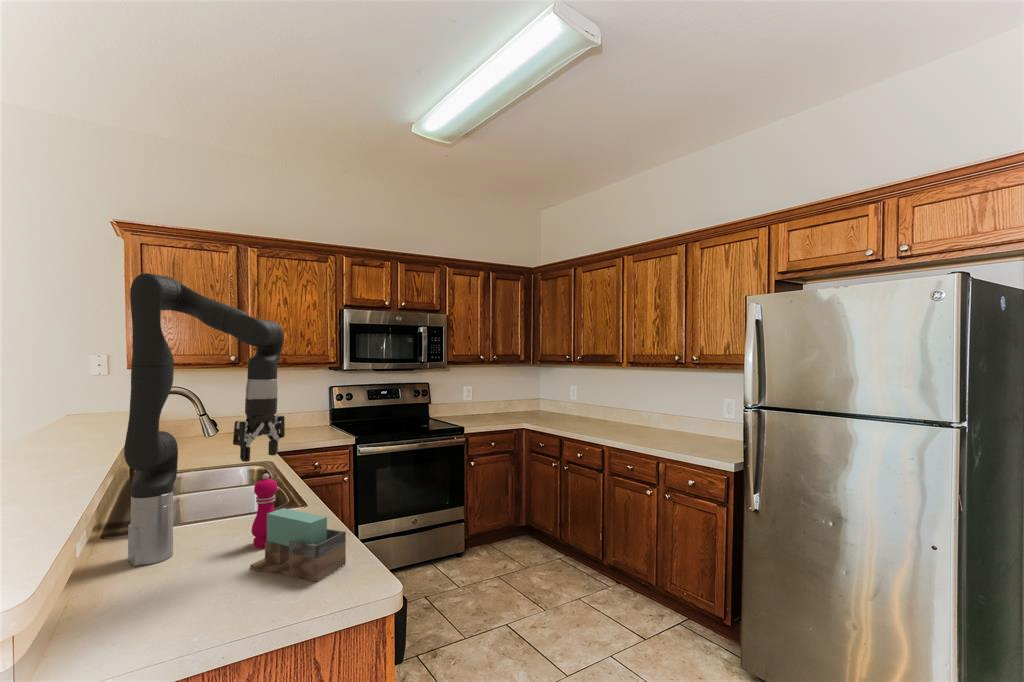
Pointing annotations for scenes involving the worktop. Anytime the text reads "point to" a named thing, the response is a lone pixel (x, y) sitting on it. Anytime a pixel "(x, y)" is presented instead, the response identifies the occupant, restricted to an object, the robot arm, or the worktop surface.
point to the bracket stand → (305, 557)
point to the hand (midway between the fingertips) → (259, 458)
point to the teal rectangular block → (296, 527)
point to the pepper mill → (263, 509)
